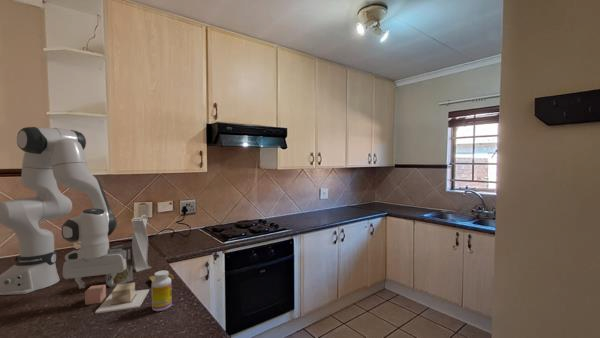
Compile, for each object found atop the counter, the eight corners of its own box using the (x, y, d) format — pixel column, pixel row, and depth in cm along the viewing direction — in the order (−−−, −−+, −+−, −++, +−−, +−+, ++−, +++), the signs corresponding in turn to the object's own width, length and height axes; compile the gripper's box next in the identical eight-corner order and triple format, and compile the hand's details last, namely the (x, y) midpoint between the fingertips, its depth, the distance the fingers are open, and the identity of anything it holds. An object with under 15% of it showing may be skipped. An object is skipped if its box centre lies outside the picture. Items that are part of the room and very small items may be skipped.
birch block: (112, 304, 101) (112, 291, 101) (117, 297, 107) (117, 284, 107) (130, 302, 103) (130, 289, 103) (135, 294, 109) (134, 282, 108)
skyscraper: (153, 269, 138) (152, 214, 137) (135, 274, 132) (134, 216, 131) (147, 265, 144) (146, 212, 143) (129, 269, 137) (128, 214, 137)
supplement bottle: (173, 308, 99) (172, 273, 99) (152, 314, 96) (152, 278, 96) (170, 300, 105) (170, 268, 105) (151, 305, 101) (150, 271, 101)
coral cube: (85, 304, 103) (84, 291, 102) (91, 298, 107) (91, 286, 107) (100, 302, 104) (100, 290, 104) (105, 296, 109) (105, 284, 109)
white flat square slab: (95, 313, 96) (95, 311, 96) (110, 295, 110) (110, 293, 110) (139, 307, 100) (139, 305, 100) (149, 290, 114) (149, 289, 114)
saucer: (169, 276, 129) (169, 271, 129) (174, 282, 123) (174, 277, 123) (148, 281, 123) (148, 276, 123) (153, 287, 117) (153, 283, 117)
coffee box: (128, 277, 127) (127, 243, 127) (133, 280, 123) (132, 245, 123) (105, 283, 120) (104, 247, 120) (110, 288, 116) (109, 250, 116)
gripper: (128, 245, 111) (129, 279, 111) (68, 251, 105) (70, 286, 106) (123, 250, 105) (124, 285, 105) (59, 256, 99) (60, 293, 100)
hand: (96, 286), depth 105 cm, fingers open, 8 cm apart
